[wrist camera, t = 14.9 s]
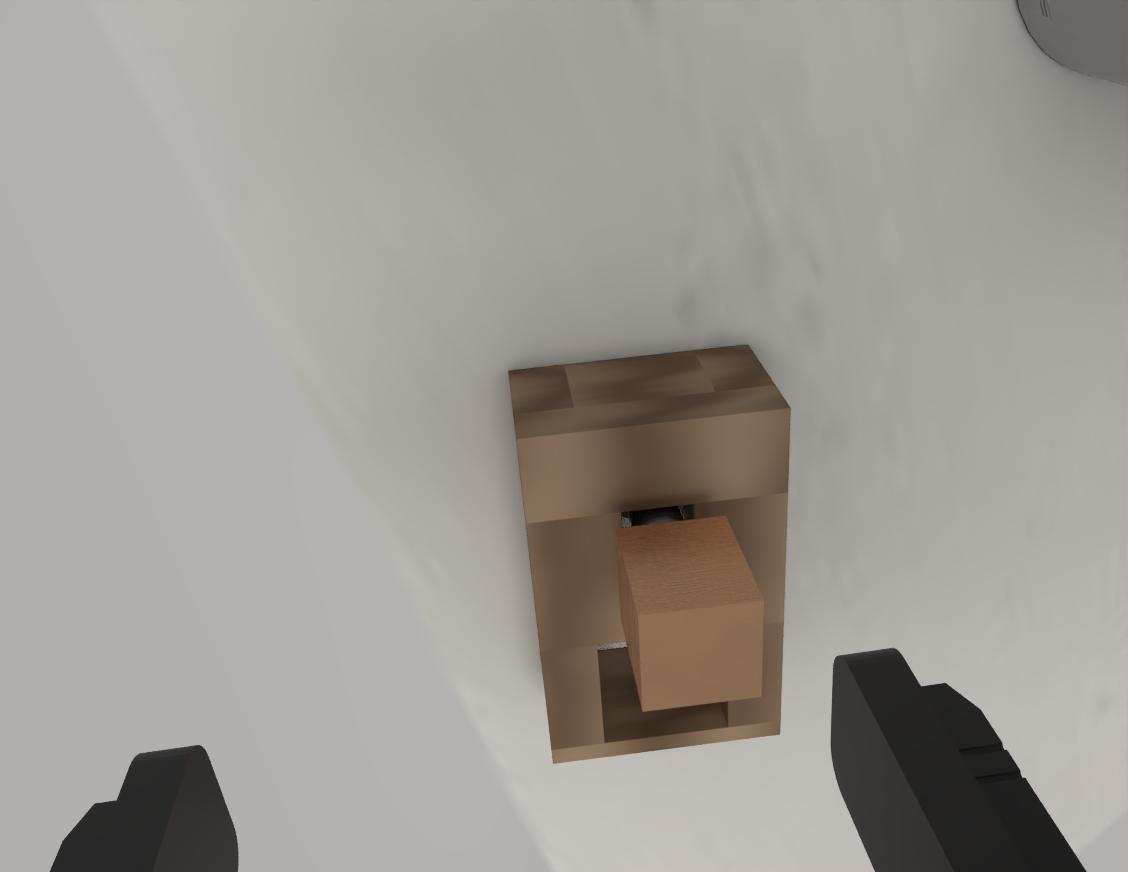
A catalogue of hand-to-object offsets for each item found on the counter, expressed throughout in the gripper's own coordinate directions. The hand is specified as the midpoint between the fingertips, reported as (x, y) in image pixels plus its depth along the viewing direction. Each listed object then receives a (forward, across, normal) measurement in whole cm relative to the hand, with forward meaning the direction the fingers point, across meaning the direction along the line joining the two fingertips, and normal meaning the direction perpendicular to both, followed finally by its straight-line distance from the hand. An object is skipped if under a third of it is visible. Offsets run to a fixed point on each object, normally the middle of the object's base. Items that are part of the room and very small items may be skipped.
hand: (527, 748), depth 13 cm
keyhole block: (+28, -5, +16) cm, 33 cm away
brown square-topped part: (+28, -5, +12) cm, 31 cm away
